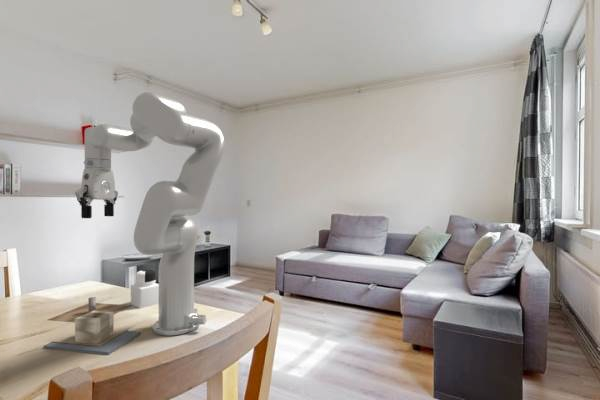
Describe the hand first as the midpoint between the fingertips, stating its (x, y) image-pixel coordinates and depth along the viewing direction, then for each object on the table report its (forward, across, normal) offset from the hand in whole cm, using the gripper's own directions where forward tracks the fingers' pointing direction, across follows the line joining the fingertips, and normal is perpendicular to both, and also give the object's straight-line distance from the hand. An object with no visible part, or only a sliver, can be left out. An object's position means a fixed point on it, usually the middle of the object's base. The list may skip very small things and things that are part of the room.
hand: (98, 217), depth 110 cm
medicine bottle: (+31, +5, -14) cm, 34 cm away
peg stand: (+30, -6, -3) cm, 31 cm away
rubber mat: (+30, -22, -18) cm, 42 cm away
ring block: (+30, -22, -18) cm, 41 cm away
